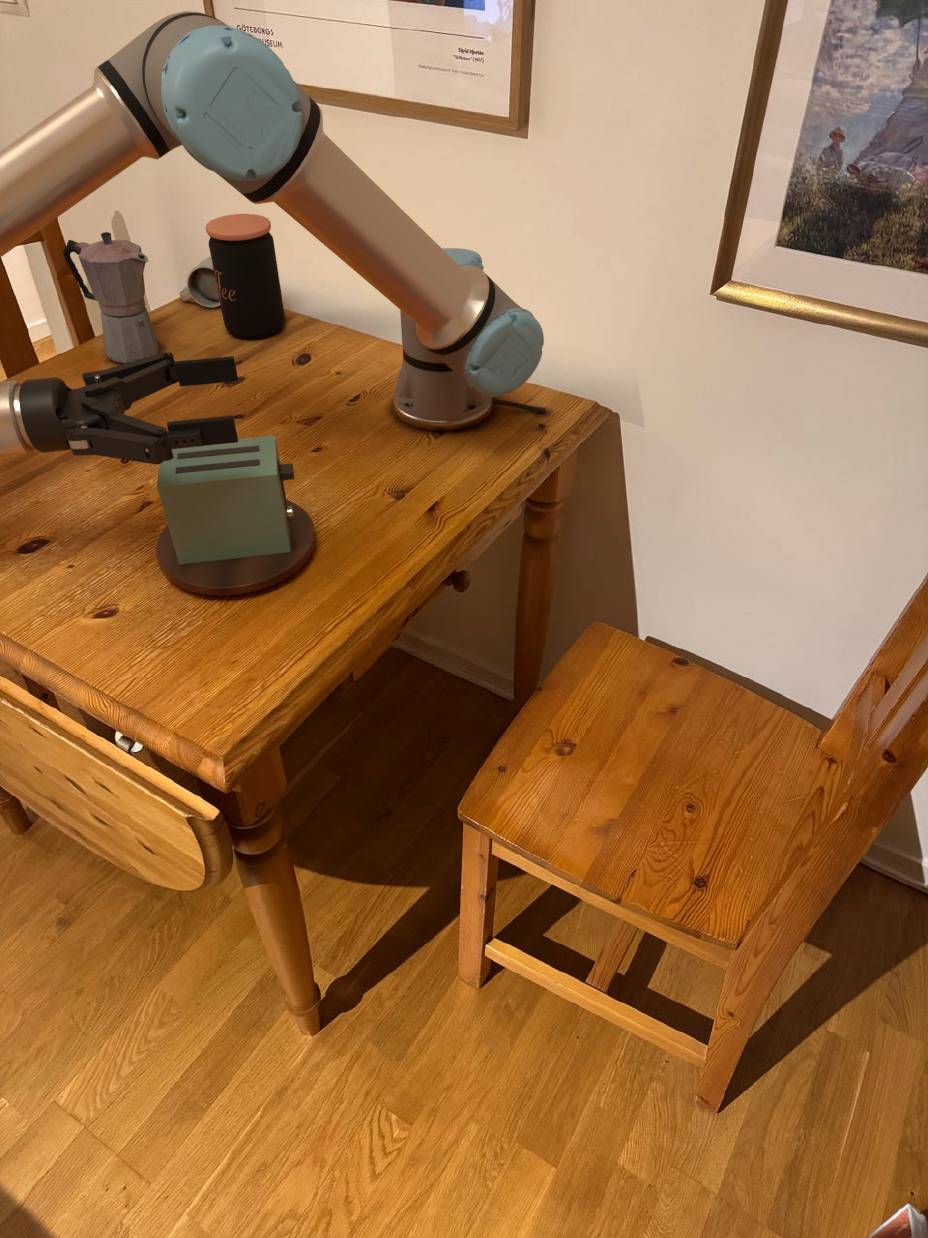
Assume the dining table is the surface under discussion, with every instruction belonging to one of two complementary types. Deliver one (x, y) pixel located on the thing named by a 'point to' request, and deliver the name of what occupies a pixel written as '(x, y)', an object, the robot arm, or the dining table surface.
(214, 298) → the ceramic mug
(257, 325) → the coffee jar
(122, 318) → the moka pot
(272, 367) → the dining table surface
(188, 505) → the toaster
